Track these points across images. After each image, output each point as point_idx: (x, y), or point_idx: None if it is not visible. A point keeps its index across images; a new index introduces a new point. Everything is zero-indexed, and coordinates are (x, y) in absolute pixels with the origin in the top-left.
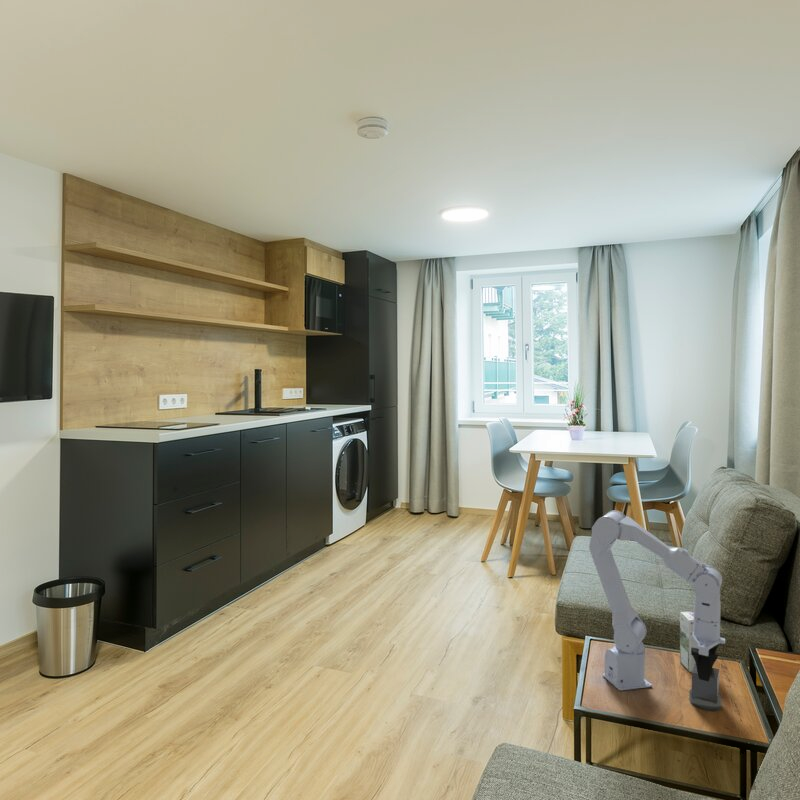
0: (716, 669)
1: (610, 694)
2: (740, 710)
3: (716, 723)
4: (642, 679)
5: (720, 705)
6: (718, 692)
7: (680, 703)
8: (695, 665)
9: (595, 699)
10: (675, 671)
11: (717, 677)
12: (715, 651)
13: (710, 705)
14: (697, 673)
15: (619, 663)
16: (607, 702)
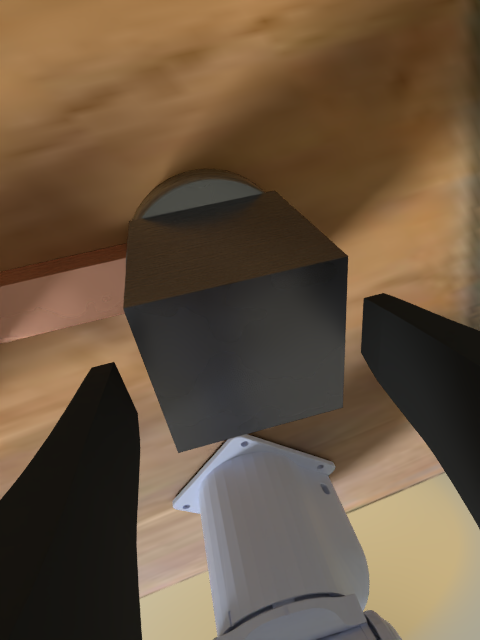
0: (148, 323)
1: (366, 462)
2: (134, 54)
3: (382, 143)
4: (266, 470)
5: (221, 174)
6: (159, 221)
7: None
8: (212, 437)
9: (413, 466)
10: (3, 444)
11: (321, 263)
12: (68, 502)
13: None
14: (337, 383)
15: (361, 561)
16: (415, 446)
